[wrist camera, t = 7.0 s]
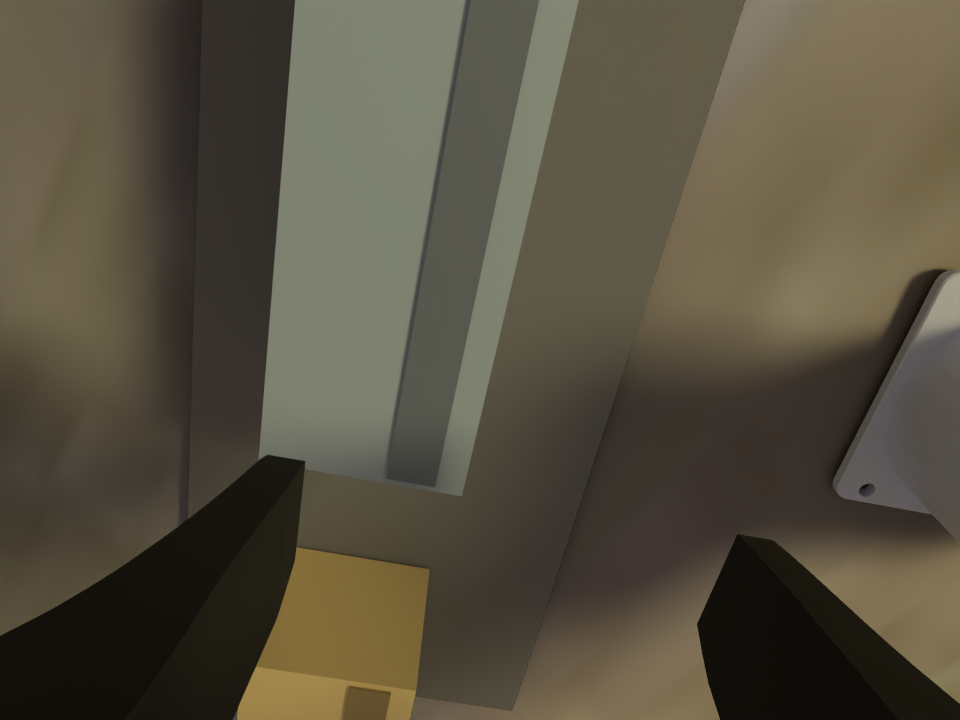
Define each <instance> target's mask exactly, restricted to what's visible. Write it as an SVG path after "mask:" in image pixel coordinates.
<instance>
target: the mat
mask: <svg viewBox="0 0 960 720" xmlns="http://www.w3.org/2000/svg"><path fill="white" fill-rule="evenodd" d="M744 3H745V0H579V2H578V6H577V10H576V14H575V19H574V23H573V27H572V31H571V36H570V40H569V44H568V48H567V53H566V57H565V61H564V65H563V70H562V74H561V78H560V82H559V86H558V91H557V95H556V99H555V103H554V108H553V112H552V116H551V120H550V125H549V129H548V133H547V137H546V142H545V146H544V150H543V154H542V159H541V163H540V167H539V171H538V175H537V180H536V184H535V188H534V192H533V197H532V201H531V205H530V209H529V214H528V218H527V222H526V226H525V231H524V235H523V239H522V243H521V248H520V252H519V256H518V260H517V264H516V269H515V273H514V277H513V281H512V286H511V290H510V294H509V298H508V303H507V307H506V311H505V315H504V320H503V324H502V328H501V332H500V337H499V341H498V345H497V349H496V354H495V358H494V362H493V366H492V370H491V375H490V379H489V383H488V387H487V392H486V396H485V400H484V404H483V409H482V413H481V417H480V421H479V426H478V430H477V434H476V438H475V443H474V447H473V451H472V455H471V459H470V464H469V468H468V472H467V476H466V481H465V485H464V489H463V493H462V496H457V495H451V494H445V493H439V492H434V491H428V490H422V489H416V488H411V487H405V486H399V485H393V484H388V483H382V482H376V481H370V480H365V479H359V478H353V477H347V476H341V475H336V474H330V473H324V472H318V471H313V470H307V469H305V471H304V481H303V490H302V499H301V509H300V518H299V528H298V537H297V547H298V548H304V549H310V550H316V551H322V552H328V553H335V554H341V555H347V556H353V557H359V558H365V559H371V560H377V561H383V562H389V563H395V564H401V565H407V566H413V567H420V568H426V569H429V579H428V588H427V597H426V606H425V615H424V624H423V634H422V643H421V652H420V661H419V670H418V680H417V689H416V694H415V696H417V697H424V698H430V699H437V700H444V701H450V702H457V703H464V704H470V705H477V706H484V707H490V708H497V709H504V710H510V711H513V708H514V705H515V701H516V698H517V695H518V692H519V689H520V686H521V683H522V680H523V677H524V674H525V671H526V668H527V665H528V662H529V659H530V656H531V653H532V650H533V647H534V643H535V640H536V637H537V634H538V631H539V628H540V625H541V622H542V619H543V616H544V613H545V610H546V607H547V604H548V601H549V598H550V595H551V592H552V589H553V586H554V582H555V579H556V576H557V573H558V570H559V567H560V564H561V561H562V558H563V555H564V552H565V549H566V546H567V543H568V540H569V537H570V534H571V531H572V528H573V524H574V521H575V518H576V515H577V512H578V509H579V506H580V503H581V500H582V497H583V494H584V491H585V488H586V485H587V482H588V479H589V476H590V473H591V470H592V466H593V463H594V460H595V457H596V454H597V451H598V448H599V445H600V442H601V439H602V436H603V433H604V430H605V427H606V424H607V421H608V418H609V415H610V412H611V408H612V405H613V402H614V399H615V396H616V393H617V390H618V387H619V384H620V381H621V378H622V375H623V372H624V369H625V366H626V363H627V360H628V357H629V354H630V351H631V347H632V344H633V341H634V338H635V335H636V332H637V329H638V326H639V323H640V320H641V317H642V314H643V311H644V308H645V305H646V302H647V299H648V296H649V293H650V289H651V286H652V283H653V280H654V277H655V274H656V271H657V268H658V265H659V262H660V259H661V256H662V253H663V250H664V247H665V244H666V241H667V238H668V235H669V231H670V228H671V225H672V222H673V219H674V216H675V213H676V210H677V207H678V204H679V201H680V198H681V195H682V192H683V189H684V186H685V183H686V180H687V177H688V174H689V170H690V167H691V164H692V161H693V158H694V155H695V152H696V149H697V146H698V143H699V140H700V137H701V134H702V131H703V128H704V125H705V122H706V119H707V116H708V112H709V109H710V106H711V103H712V100H713V97H714V94H715V91H716V88H717V85H718V82H719V79H720V76H721V73H722V70H723V67H724V64H725V61H726V58H727V54H728V51H729V48H730V45H731V42H732V39H733V36H734V33H735V30H736V27H737V24H738V21H739V18H740V15H741V12H742V9H743V6H744ZM294 9H295V0H202V31H201V67H200V102H199V137H198V172H197V207H196V242H195V278H194V313H193V348H192V383H191V418H190V454H189V489H188V519H189V518H190V517H191V516H193V515H194V514H195V513H196V512H198V511H199V510H200V509H201V508H203V507H204V506H205V505H207V504H208V503H209V502H210V501H212V500H213V499H214V498H215V497H216V496H218V495H219V494H220V493H221V492H222V491H224V490H225V489H226V488H227V487H228V486H230V485H231V484H232V483H233V482H234V481H236V480H237V479H238V478H239V477H240V476H241V475H242V474H244V473H245V472H246V471H247V470H248V469H249V468H250V467H252V466H253V465H254V464H255V463H256V462H257V461H258V460H259V449H260V436H261V423H262V411H263V398H264V386H265V373H266V361H267V348H268V335H269V323H270V310H271V298H272V285H273V273H274V260H275V248H276V235H277V222H278V210H279V197H280V185H281V172H282V160H283V147H284V134H285V122H286V109H287V97H288V84H289V72H290V59H291V46H292V34H293V21H294Z"/></svg>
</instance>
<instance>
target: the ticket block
mask: <svg viewBox="0 0 960 720" xmlns="http://www.w3.org/2000/svg"><path fill="white" fill-rule="evenodd" d="M578 2H579V0H295V9H294V21H293V34H292V46H291V59H290V72H289V84H288V97H287V109H286V122H285V134H284V147H283V160H282V172H281V185H280V197H279V210H278V222H277V235H276V248H275V260H274V273H273V285H272V298H271V310H270V323H269V335H268V348H267V361H266V373H265V386H264V398H263V411H262V423H261V436H260V449H259V460H260V459H261V458H263V457H264V456H266V455H273V456H279V457H284V458H290V459H296V460H302V461H306V462H305V469H307V470H313V471H318V472H324V473H330V474H336V475H341V476H347V477H353V478H359V479H365V480H370V481H376V482H382V483H388V484H393V485H399V486H405V487H411V488H416V489H422V490H428V491H434V492H439V493H445V494H451V495H457V496H462V493H463V489H464V485H465V481H466V476H467V472H468V468H469V464H470V459H471V455H472V451H473V447H474V443H475V438H476V434H477V430H478V426H479V421H480V417H481V413H482V409H483V404H484V400H485V396H486V392H487V387H488V383H489V379H490V375H491V370H492V366H493V362H494V358H495V354H496V349H497V345H498V341H499V337H500V332H501V328H502V324H503V320H504V315H505V311H506V307H507V303H508V298H509V294H510V290H511V286H512V281H513V277H514V273H515V269H516V264H517V260H518V256H519V252H520V248H521V243H522V239H523V235H524V231H525V226H526V222H527V218H528V214H529V209H530V205H531V201H532V197H533V192H534V188H535V184H536V180H537V175H538V171H539V167H540V163H541V159H542V154H543V150H544V146H545V142H546V137H547V133H548V129H549V125H550V120H551V116H552V112H553V108H554V103H555V99H556V95H557V91H558V86H559V82H560V78H561V74H562V70H563V65H564V61H565V57H566V53H567V48H568V44H569V40H570V36H571V31H572V27H573V23H574V19H575V14H576V10H577V6H578Z"/></svg>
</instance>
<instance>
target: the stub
mask: <svg viewBox="0 0 960 720" xmlns="http://www.w3.org/2000/svg"><path fill="white" fill-rule="evenodd" d="M428 579H429V569H426V568H420V567H413V566H407V565H401V564H395V563H389V562H383V561H377V560H371V559H365V558H359V557H353V556H347V555H341V554H335V553H328V552H322V551H316V550H310V549H304V548H298V547H296V556H295V562H294V565H293V569H292V572H291V575H290V578H289V582H288V585H287V588H286V592H285V595H284V598H283V601H282V604H281V607H280V611H279V614H278V617H277V620H276V622H275V624H274V627H273V629H272V631H271V634H270V636H269V638H268V640H267V643H266V645H265V647H264V650H263V652H262V654H261V657H260V659H259V661H258V663H257V666H256V668H255V670H254V672H253V675H252V677H251V679H250V682H249V684H248V686H247V688H246V691H245V693H244V695H243V697H242V700H241V702H240V704H239V706H238V714H237V720H410V715H411V711H412V707H413V703H414V698H415V694H416V689H417V680H418V670H419V661H420V652H421V643H422V634H423V624H424V615H425V606H426V597H427V588H428Z"/></svg>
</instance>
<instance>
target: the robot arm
mask: <svg viewBox="0 0 960 720" xmlns="http://www.w3.org/2000/svg"><path fill="white" fill-rule="evenodd" d="M305 462H306V461H302V460H296V459H290V458H284V457H279V456H273V455H266V456H264V457H263V458H261V459H260V460H258V461H257V462H256V463H255V464H254V465H253V466H252V467H250V468H249V469H248V470H247V471H246V472H245V473H244V474H242V475H241V476H240V477H239V478H238V479H237V480H236V481H234V482H233V483H232V484H231V485H230V486H228V487H227V488H226V489H225V490H224V491H222V492H221V493H220V494H219V495H218V496H216V497H215V498H214V499H213V500H212V501H210V502H209V503H208V504H207V505H205V506H204V507H203V508H201V509H200V510H199V511H198V512H196V513H195V514H194V515H193V516H191V517H190V518H189V519H187V520H186V521H185V522H184V523H182V524H181V525H180V526H178V527H177V528H176V529H174V530H173V531H172V532H170V533H169V534H168V535H166V536H165V537H164V538H162V539H161V540H159V541H158V542H156V543H155V544H154V545H152V546H151V547H149V548H148V549H146V550H145V551H144V552H142V553H141V554H139V555H138V556H136V557H135V558H134V559H132V560H131V561H129V562H128V563H126V564H125V565H123V566H122V567H120V568H119V569H117V570H116V571H114V572H113V573H111V574H110V575H108V576H106V577H105V578H103V579H102V580H100V581H99V582H97V583H95V584H94V585H92V586H91V587H89V588H87V589H86V590H84V591H82V592H80V593H79V594H77V595H75V596H74V597H72V598H70V599H69V600H67V601H65V602H64V603H62V604H60V605H58V606H57V607H55V608H53V609H51V610H50V611H48V612H46V613H44V614H42V615H40V616H38V617H36V618H34V619H33V620H31V621H29V622H27V623H25V624H23V625H21V626H19V627H17V628H15V629H13V630H11V631H9V632H7V633H5V634H3V635H1V636H0V720H233V718H234V716H235V713H236V711H237V709H238V706H239V704H240V702H241V700H242V697H243V695H244V693H245V691H246V688H247V686H248V684H249V682H250V679H251V677H252V675H253V672H254V670H255V668H256V666H257V663H258V661H259V659H260V657H261V654H262V652H263V650H264V647H265V645H266V643H267V640H268V638H269V636H270V634H271V631H272V629H273V627H274V624H275V622H276V620H277V617H278V614H279V611H280V607H281V604H282V601H283V598H284V595H285V592H286V588H287V585H288V582H289V578H290V575H291V572H292V569H293V565H294V562H295V556H296V547H297V537H298V528H299V518H300V509H301V499H302V490H303V481H304V471H305ZM832 484H833V488H834V490H835V491H836V492H837V494H838V495H839V496H840V497H842V498H845V499H849V500H854V501H860V502H865V503H871V504H876V505H882V506H887V507H893V508H898V509H904V510H909V511H915V512H921V513H926V514H932V515H933V516H934V517H935V518H936V519H937V520H938V521H939V522H940V523H941V525H942V526H943V527H944V528H945V529H946V530H947V531H948V532H949V533H950V534H951V535H952V536H953V537H954V538H955V539H956V541H957V542H958V543H959V544H960V269H951V270H948V271H945V272H944V273H942V274H941V275H939V276H938V278H937V279H936V280H935V282H934V284H933V286H932V287H931V289H930V291H929V293H928V295H927V297H926V299H925V301H924V303H923V305H922V307H921V309H920V311H919V313H918V315H917V317H916V319H915V321H914V323H913V325H912V327H911V329H910V331H909V332H908V334H907V336H906V338H905V340H904V342H903V344H902V346H901V348H900V350H899V352H898V354H897V356H896V358H895V360H894V362H893V364H892V366H891V368H890V370H889V372H888V374H887V376H886V377H885V379H884V381H883V383H882V385H881V387H880V389H879V391H878V393H877V395H876V397H875V399H874V401H873V403H872V405H871V407H870V409H869V411H868V413H867V415H866V417H865V419H864V420H863V422H862V424H861V426H860V428H859V430H858V432H857V434H856V436H855V438H854V440H853V442H852V444H851V446H850V448H849V450H848V452H847V454H846V456H845V458H844V460H843V462H842V464H841V465H840V467H839V469H838V471H837V473H836V475H835V477H834V479H833V483H832ZM865 484H869V485H868V486H867V487H866V488H864V489H861V490H859V489H860V488H861V487H862V486H863V485H865ZM697 626H698V632H699V637H700V643H701V649H702V654H703V659H704V664H705V669H706V673H707V678H708V683H709V686H710V689H711V693H712V696H713V699H714V702H715V705H716V708H717V711H718V714H719V717H720V720H960V704H959V703H958V702H957V701H955V700H954V699H953V698H952V697H951V696H949V695H948V694H947V693H946V692H945V691H943V690H942V689H941V688H940V687H939V686H937V685H936V684H935V683H934V682H933V681H931V680H930V679H929V678H928V677H927V676H925V675H924V674H923V673H922V672H921V671H919V670H918V669H917V668H916V667H915V666H913V665H912V664H911V663H910V662H909V661H908V660H907V659H905V658H904V657H903V656H902V655H901V654H900V653H899V652H897V651H896V650H895V649H894V648H893V647H892V646H890V645H889V644H888V643H887V642H886V641H885V640H884V639H883V638H882V637H880V636H879V635H878V634H877V633H876V632H875V631H874V630H873V629H872V628H870V627H869V626H868V625H867V624H866V623H865V622H864V621H863V620H862V619H860V618H859V617H858V616H857V615H856V614H855V613H854V612H853V611H852V610H851V609H850V608H848V607H847V606H846V605H845V604H844V603H843V602H842V601H841V600H840V599H839V598H838V597H837V596H835V595H834V594H833V593H832V592H831V591H830V590H829V589H828V588H827V587H826V586H825V585H823V584H822V583H821V582H820V581H819V580H818V579H817V578H816V577H815V576H814V575H813V574H811V573H810V572H809V571H808V570H807V569H806V568H805V567H804V566H803V565H801V564H800V563H799V562H798V561H797V560H796V559H795V558H794V557H792V556H791V555H790V554H789V553H788V552H787V551H785V550H784V549H783V548H782V547H780V546H779V545H778V544H777V543H775V542H774V541H773V540H768V539H762V538H756V537H750V536H744V535H739V534H737V536H736V539H735V541H734V543H733V545H732V548H731V550H730V552H729V554H728V557H727V559H726V561H725V563H724V565H723V568H722V570H721V572H720V574H719V577H718V579H717V581H716V583H715V585H714V588H713V590H712V592H711V594H710V597H709V599H708V601H707V603H706V605H705V608H704V610H703V612H702V614H701V617H700V619H699V621H698V623H697Z"/></svg>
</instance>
